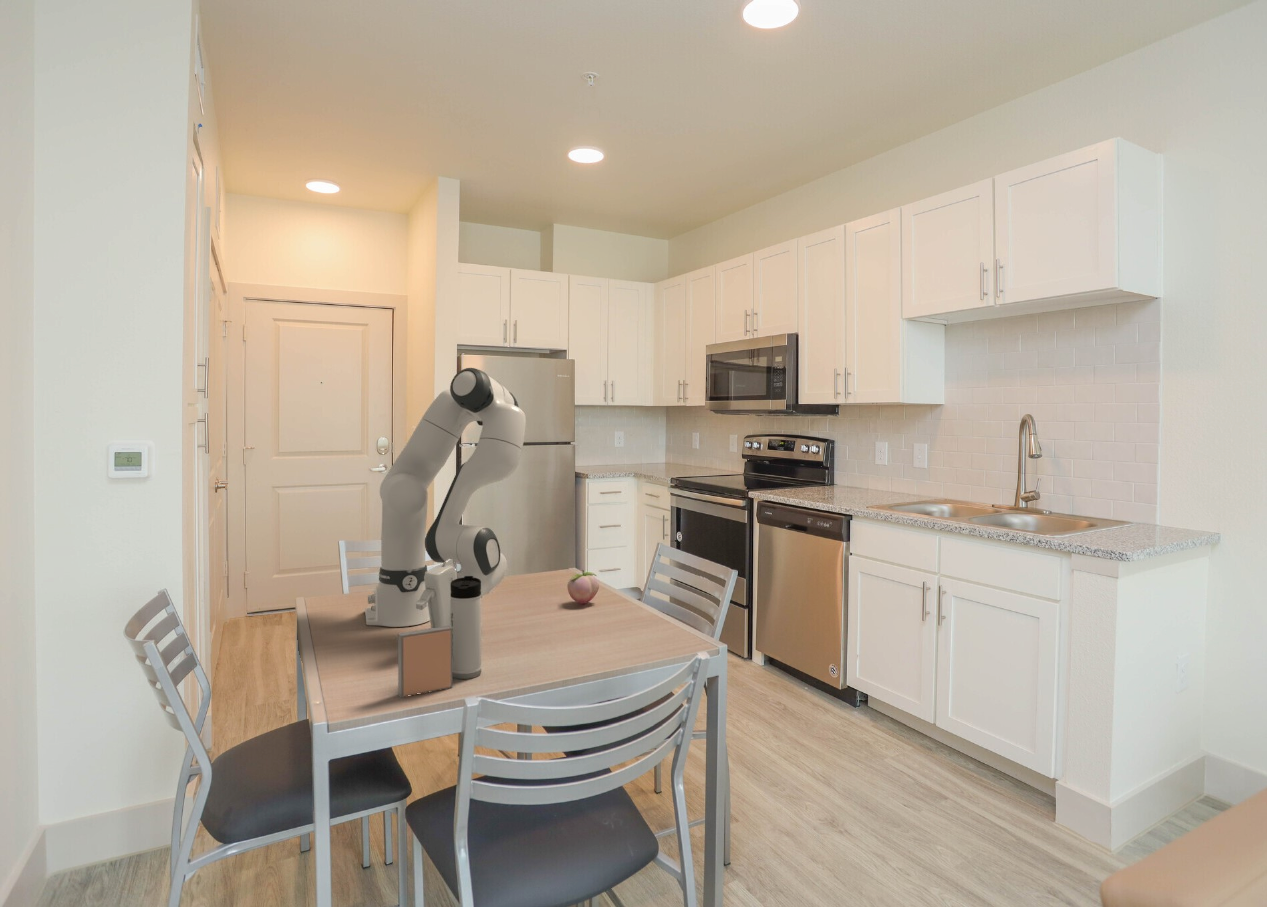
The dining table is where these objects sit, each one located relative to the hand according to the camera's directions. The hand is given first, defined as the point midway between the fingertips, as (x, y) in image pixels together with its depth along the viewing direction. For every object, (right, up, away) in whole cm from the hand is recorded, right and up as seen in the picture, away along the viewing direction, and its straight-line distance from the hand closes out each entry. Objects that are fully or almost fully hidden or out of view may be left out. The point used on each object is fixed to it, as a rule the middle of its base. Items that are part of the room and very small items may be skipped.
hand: (420, 624), depth 159 cm
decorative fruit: (+32, -6, +48) cm, 58 cm away
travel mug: (+12, -8, -9) cm, 17 cm away
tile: (+6, -9, -19) cm, 21 cm away
